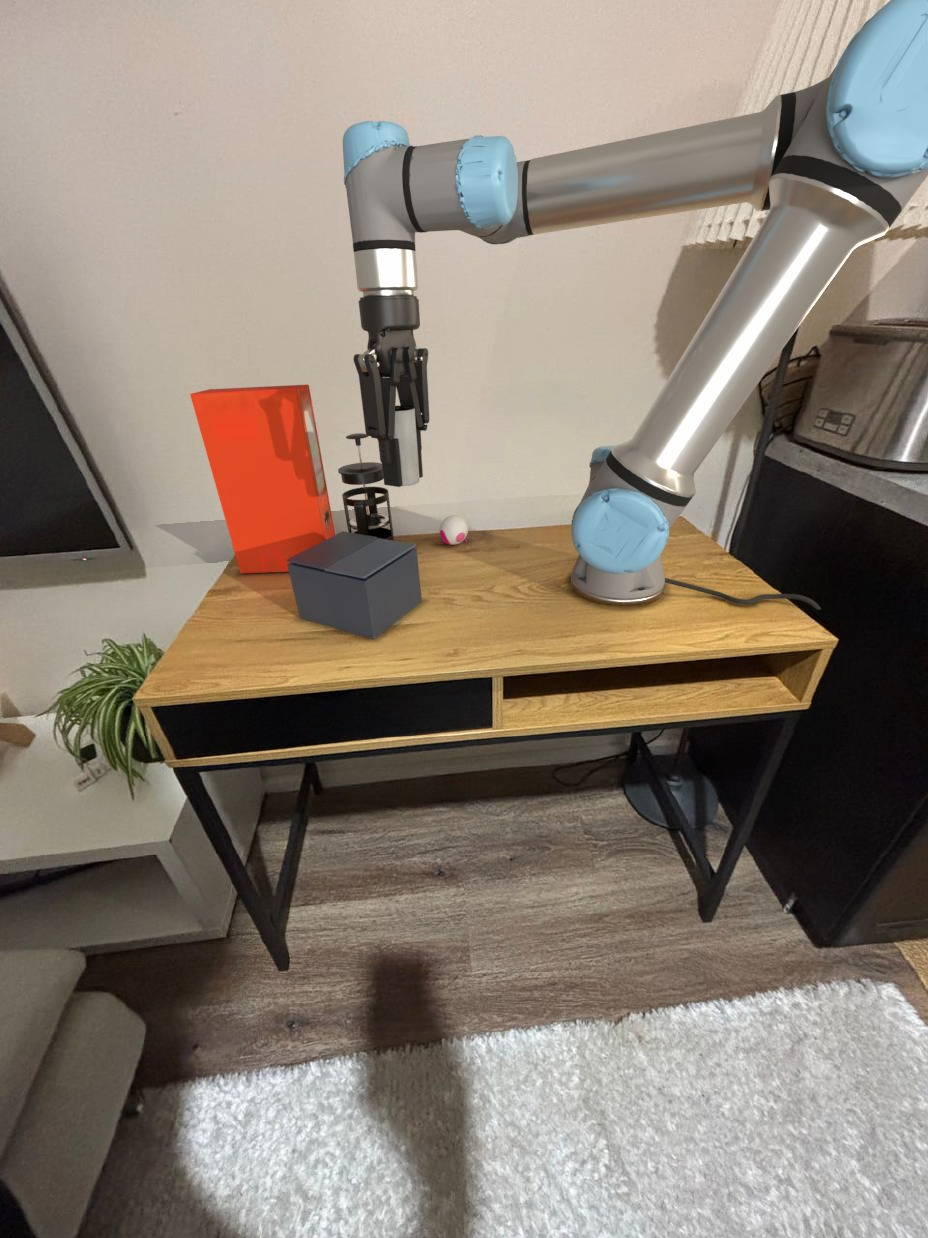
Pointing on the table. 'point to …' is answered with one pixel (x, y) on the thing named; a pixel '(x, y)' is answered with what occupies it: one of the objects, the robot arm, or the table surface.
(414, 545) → the flap
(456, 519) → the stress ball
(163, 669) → the table surface
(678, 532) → the table surface
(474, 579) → the table surface
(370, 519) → the french press
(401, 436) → the gray hollow cylinder
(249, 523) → the file binder
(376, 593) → the carton
